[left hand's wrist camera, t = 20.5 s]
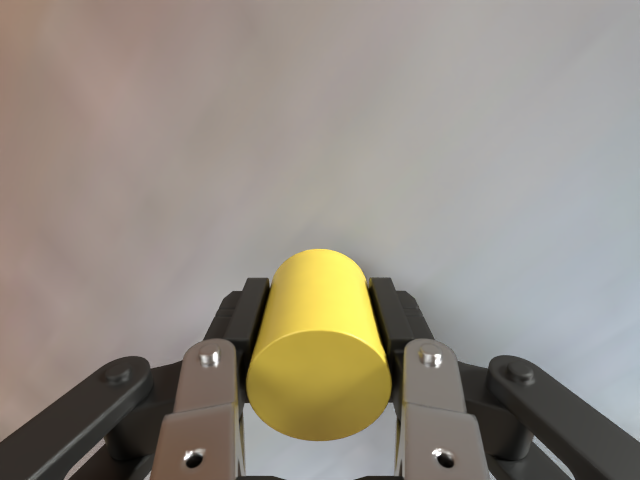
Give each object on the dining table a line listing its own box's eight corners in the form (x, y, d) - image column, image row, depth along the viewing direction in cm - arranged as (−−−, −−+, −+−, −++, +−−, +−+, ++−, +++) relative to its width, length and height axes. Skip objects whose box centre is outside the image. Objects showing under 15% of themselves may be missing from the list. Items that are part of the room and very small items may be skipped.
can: (250, 283, 13) (214, 377, 8) (331, 229, 12) (337, 302, 8) (309, 347, 14) (303, 460, 10) (386, 302, 13) (419, 402, 9)
